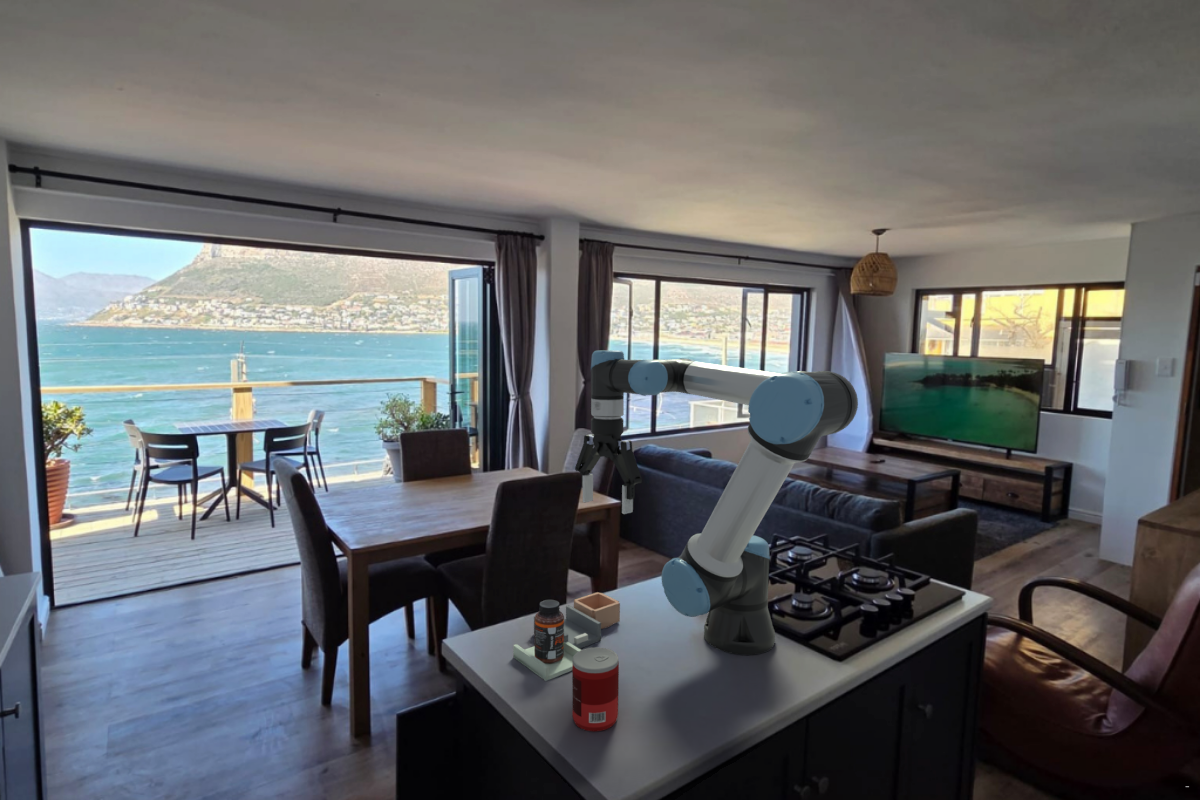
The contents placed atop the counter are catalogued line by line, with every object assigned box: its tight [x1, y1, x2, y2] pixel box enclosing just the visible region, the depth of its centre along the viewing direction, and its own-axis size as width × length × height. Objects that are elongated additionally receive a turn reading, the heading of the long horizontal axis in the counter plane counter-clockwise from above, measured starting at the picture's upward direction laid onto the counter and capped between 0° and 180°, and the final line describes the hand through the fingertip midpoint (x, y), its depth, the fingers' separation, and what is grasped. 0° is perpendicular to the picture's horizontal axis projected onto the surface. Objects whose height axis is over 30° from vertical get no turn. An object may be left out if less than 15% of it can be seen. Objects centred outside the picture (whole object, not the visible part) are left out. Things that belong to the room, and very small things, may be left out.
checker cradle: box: [533, 604, 602, 650], centre depth 138 cm, size 12×10×4 cm
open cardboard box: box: [573, 591, 621, 630], centre depth 146 cm, size 8×8×5 cm
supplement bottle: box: [534, 599, 565, 663], centre depth 127 cm, size 6×6×11 cm
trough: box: [512, 641, 582, 682], centre depth 127 cm, size 12×10×3 cm
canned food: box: [571, 647, 620, 732], centre depth 108 cm, size 8×8×11 cm
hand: (606, 507), depth 148 cm, fingers open, 13 cm apart
